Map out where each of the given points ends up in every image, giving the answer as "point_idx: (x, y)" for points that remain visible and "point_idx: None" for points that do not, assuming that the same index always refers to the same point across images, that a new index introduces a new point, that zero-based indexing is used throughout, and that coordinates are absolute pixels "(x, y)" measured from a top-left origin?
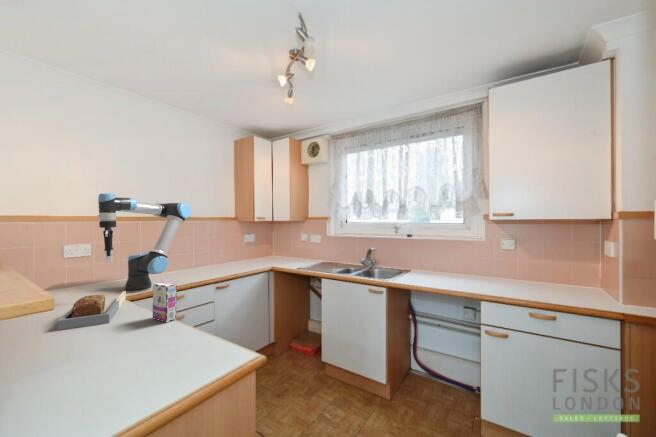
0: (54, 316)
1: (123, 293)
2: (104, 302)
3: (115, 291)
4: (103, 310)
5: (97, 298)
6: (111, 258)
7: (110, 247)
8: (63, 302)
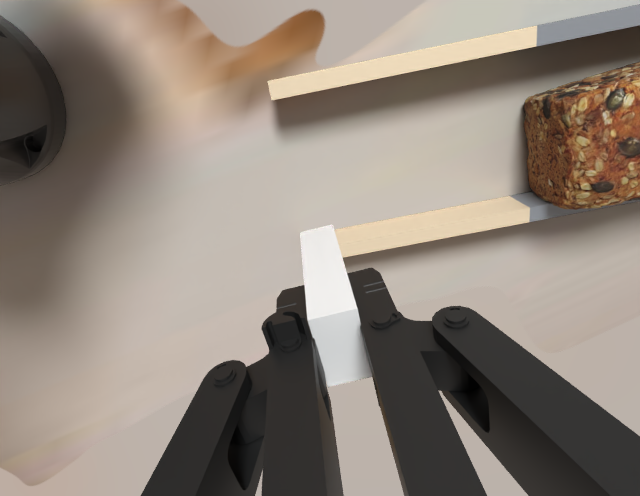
0: (508, 271)
1: (336, 72)
2: (584, 87)
3: (81, 212)
4: (594, 77)
5: None
6: (336, 244)
7: (478, 329)
8: None
